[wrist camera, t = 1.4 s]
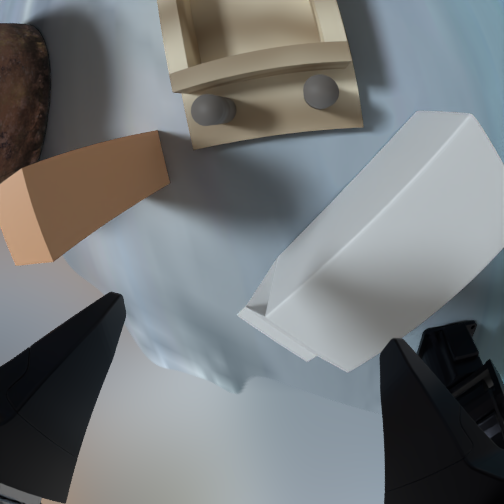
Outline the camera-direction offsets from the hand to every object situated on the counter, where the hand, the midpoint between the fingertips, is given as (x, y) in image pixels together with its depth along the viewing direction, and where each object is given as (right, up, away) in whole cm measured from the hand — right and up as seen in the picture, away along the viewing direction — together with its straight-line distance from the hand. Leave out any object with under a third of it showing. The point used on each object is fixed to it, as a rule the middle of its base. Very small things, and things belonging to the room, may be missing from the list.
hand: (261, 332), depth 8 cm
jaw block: (-9, +9, +11) cm, 17 cm away
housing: (0, +16, +6) cm, 17 cm away
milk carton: (+13, +8, +3) cm, 16 cm away
